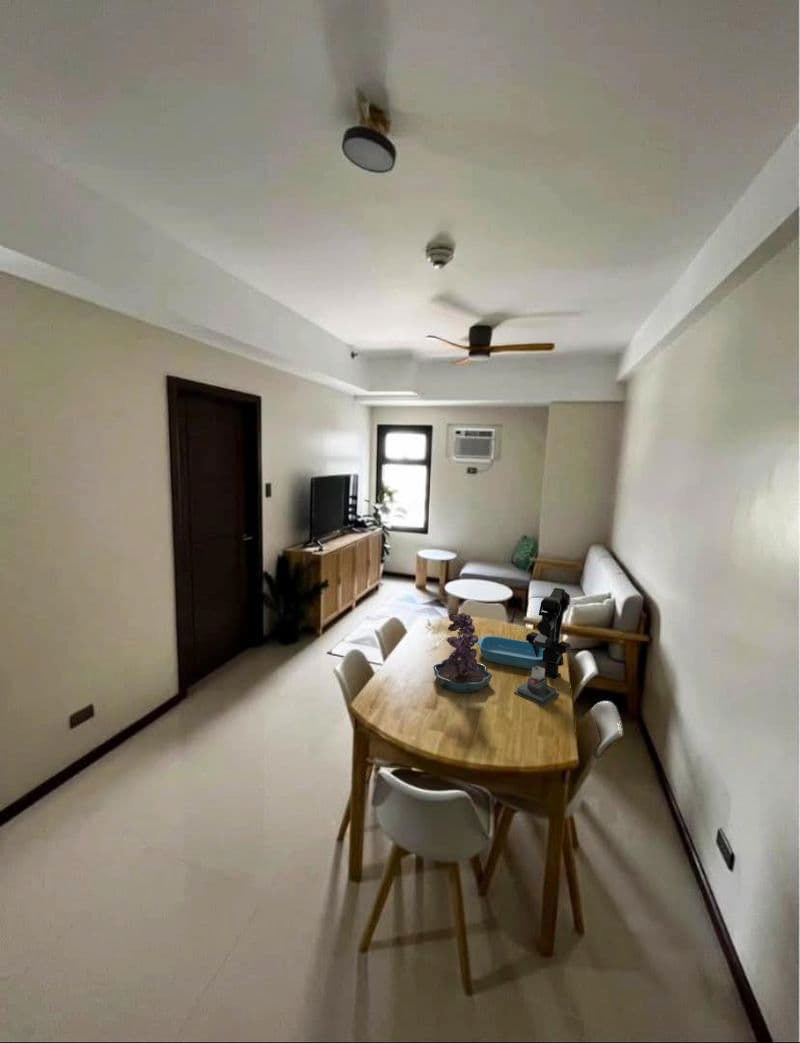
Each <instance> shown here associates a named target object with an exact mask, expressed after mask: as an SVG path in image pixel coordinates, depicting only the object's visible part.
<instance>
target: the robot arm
mask: <svg viewBox="0 0 800 1043" xmlns="http://www.w3.org/2000/svg"><path fill="white" fill-rule="evenodd" d="M570 605H571V595H570V594H569V593H568V592H566V589H564V588H560V587H559V588H558V587H554V588H553V591H552V592H551V594H550V595H549V596H545V597H544V598H542V600H541V601H540V606H539V612H538V616H541V619H540V620H539V622H538V623H537V627H536V628H537V631H538V632H539V633H538V632H535V631H532V632H530V633H528V634H526V637H525V641H526V642H529V643H530V644H531V645H532V646H533V648H534V651H535V654H536V657H538V655H539V648H540V647H541V648H545V650H543V662H544V663H546V664H545V675H544V676H546V677H548V678H551V679H557V678H559V677H560V676H561V675H562V674H561V672H559V669H560V668H559V667H562V666H564V662H565V661H564V656H563V655H564V654H567V653H569V651H571V650H572V646H571V644H570V643H569V642H565V641H561V640H560V639H561V632H562V628H563V627H562V626H563V620H564V614H565V613H566V612H567V611H568V610H569V606H570Z"/></svg>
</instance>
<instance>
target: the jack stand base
mask: <svg viewBox="0 0 800 1043" xmlns="http://www.w3.org/2000/svg"><path fill="white" fill-rule="evenodd" d="M513 694H515V695H517V696H520V697H522V698H525V699H527V700H529V701H531V702H534V703H536V704H538V705H541V706H547V705H548V704H549V703H550V702H552V701H553V700H554V699H555V698H556V697H558V696H559V695H560V692H557V688H555V687H553V686H551V685H548V678H547V677H544V680H543V681H541V682H538V681H536V680H533V679H531V676H529V677H528V678H527V681H526V682H524V683H522V684H521V685H520V686H518V687H517V689H516V690H515V691H514V692H513Z"/></svg>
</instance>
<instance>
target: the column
mask: <svg viewBox="0 0 800 1043" xmlns="http://www.w3.org/2000/svg"><path fill="white" fill-rule="evenodd" d="M545 671H546V667H545V668H544V667H543V666H541V667H539V666H535V667H533V668H532V669H531V673H530V674H531V675H530V677H531V679H533V680H536V681H538V682H541V681H543V680H544V678H545V676H546V675H545Z"/></svg>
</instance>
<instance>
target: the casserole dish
mask: <svg viewBox="0 0 800 1043" xmlns="http://www.w3.org/2000/svg"><path fill="white" fill-rule="evenodd" d="M476 644H477V645H478V646H479V648H480V652H481V653H480V654H481V656H482V657H483V658H484V659H485V660H486V661H488V662H491V663H495V664H500V665H501V664H502V665H506V666H511V667H515V668H521V669H526V670H527V669H528V670H532V668H533V667H535V666H539V667H543V665H544V663H545V662H543V650H545V648H541V647H540V648H539V655H538V657H536V654H535V651H534V648H533V646H532V645H531V644H530V643H529V641H526V640H519V639H515V638H514V639H513V638H507V637H501V636H492V635H488V636H485V637H482V638H478V642H477V643H476Z"/></svg>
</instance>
